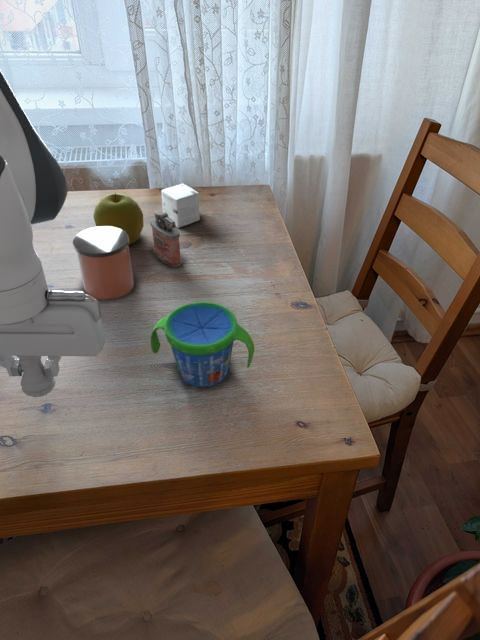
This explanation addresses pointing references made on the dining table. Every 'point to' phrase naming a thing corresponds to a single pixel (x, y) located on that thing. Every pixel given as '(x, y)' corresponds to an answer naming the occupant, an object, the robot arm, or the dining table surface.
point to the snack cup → (202, 341)
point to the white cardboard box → (181, 204)
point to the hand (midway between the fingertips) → (34, 373)
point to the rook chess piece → (35, 377)
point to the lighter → (166, 239)
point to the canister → (104, 262)
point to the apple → (120, 215)
